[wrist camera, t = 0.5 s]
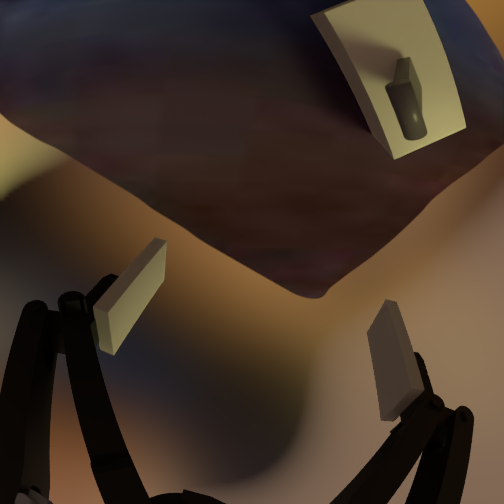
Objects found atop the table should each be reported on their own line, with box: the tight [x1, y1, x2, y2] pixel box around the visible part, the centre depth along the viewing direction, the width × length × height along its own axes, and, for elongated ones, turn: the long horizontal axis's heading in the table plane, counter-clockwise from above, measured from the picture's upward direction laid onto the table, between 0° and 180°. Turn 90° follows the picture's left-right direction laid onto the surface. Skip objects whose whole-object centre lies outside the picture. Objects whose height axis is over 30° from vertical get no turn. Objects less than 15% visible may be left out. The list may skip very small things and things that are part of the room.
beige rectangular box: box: [310, 0, 466, 160], centre depth 30 cm, size 20×12×9 cm, turn 32°
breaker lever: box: [385, 57, 427, 141], centre depth 24 cm, size 5×2×11 cm, turn 32°
